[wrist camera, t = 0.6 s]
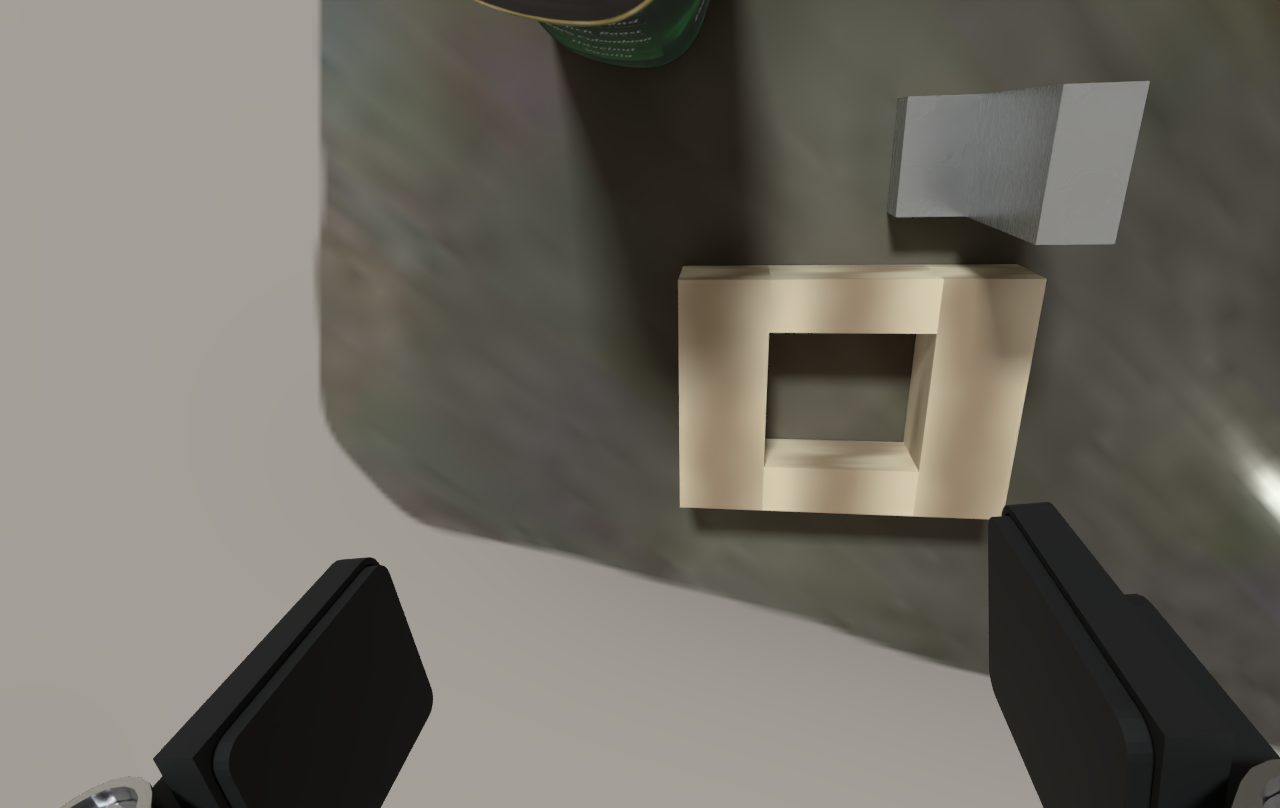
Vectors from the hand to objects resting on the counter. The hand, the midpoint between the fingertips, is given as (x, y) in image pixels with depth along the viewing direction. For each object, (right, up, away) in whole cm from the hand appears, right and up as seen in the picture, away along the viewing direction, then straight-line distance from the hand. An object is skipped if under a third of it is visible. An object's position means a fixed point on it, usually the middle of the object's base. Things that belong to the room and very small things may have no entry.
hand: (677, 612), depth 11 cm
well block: (+10, +4, +26) cm, 28 cm away
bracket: (+14, +15, +21) cm, 29 cm away
